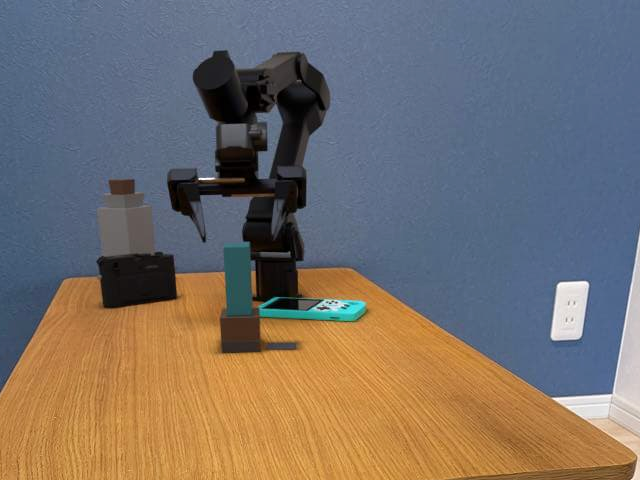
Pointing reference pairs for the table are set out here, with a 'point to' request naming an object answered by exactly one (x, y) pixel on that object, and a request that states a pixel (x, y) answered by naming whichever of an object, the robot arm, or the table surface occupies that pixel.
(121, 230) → the perfume bottle
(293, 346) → the dark grey flat tile
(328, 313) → the handheld game console
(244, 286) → the teal post in base
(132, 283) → the camera
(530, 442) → the table surface
